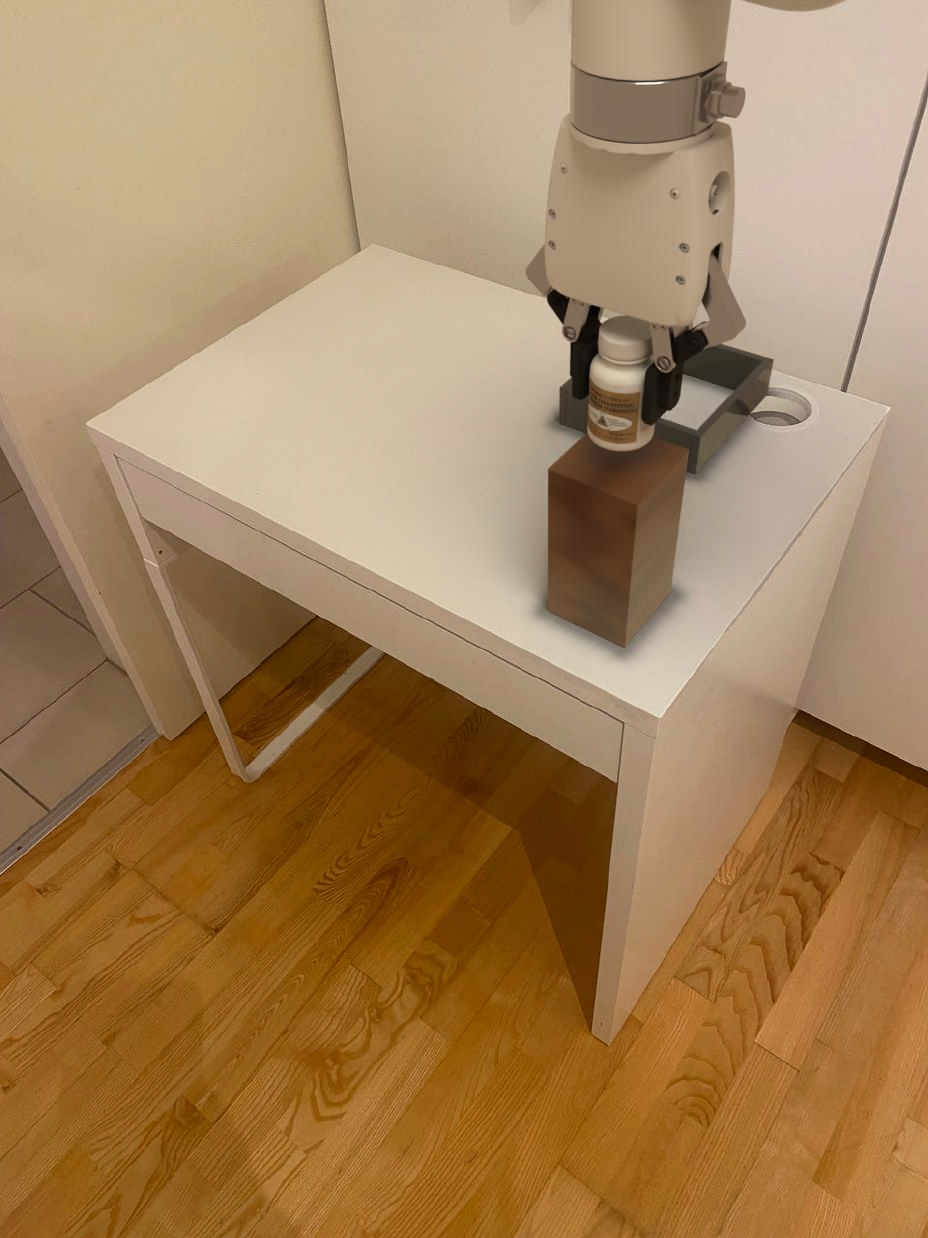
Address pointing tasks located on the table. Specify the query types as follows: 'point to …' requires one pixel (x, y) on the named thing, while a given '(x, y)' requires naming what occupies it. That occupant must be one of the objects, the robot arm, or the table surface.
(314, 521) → the table surface
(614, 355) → the pill bottle
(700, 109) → the robot arm
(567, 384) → the tray
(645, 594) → the display block
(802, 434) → the table surface
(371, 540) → the table surface
